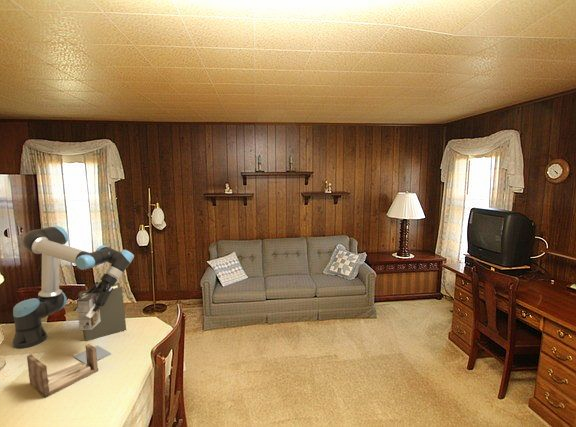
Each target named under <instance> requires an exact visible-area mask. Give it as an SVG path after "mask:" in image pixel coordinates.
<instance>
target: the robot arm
mask: <svg viewBox="0 0 576 427" xmlns="http://www.w3.org/2000/svg"><path fill="white" fill-rule="evenodd" d="M21 241H22V246H23V247H24V248H25V250H26V251H28V252H29V253H33V254H36V255H40V254H41V290H40V291H39V292H38V294H37V298H35V297H33V298H28V299H24V300H22V301H19V302H18V303H16V304H15V305H14V306H13V309H12V311H13V313H12V316H13V320H14V329H15V333H14V337H13V340H12V347H13V348H14V349H26V348H30V347H34V346H36V345H39V344H41V343H42V342H44V341H46V339H47V338H48V335H47V331H46V329H45V328H44V326H43V323H42V319H44V318H46V317H49V316H50V315H53V314H55V313H57V312H59V311H61V310H62V309H64V308H65V306H66V305H67V302H68V299H67V298H68V297H67V296H66V294H65V293H64V292H63V290H62V289H60V266H61V264H60V263H61V260H62V261H64V262H65V261H66V262H69V263H72V264H75V266H76V268H78V269H79V270H82V271H85V270H90V269H91V268H94V267H97V266H99V265H102V264H106V263H108V264H110V266H109V267H108V269H106V271H105V273H103V275H102V276H101V277H100V280H101V281H100V282H99V281H96V282H95V283H94V285H92V286H91V288H90V289H88V290H89V291H88V292H87V293H100V294H99V297H98V300H97V302H96V303H95V304H94V305H93V307H92V308H91V309H90V311H89V312H88V313H87V315H86V316H87V317H89V318H91V317H92V316H93V315H94V313H95V312H96V311H97V309H98V308H99V307H100V306H104V304H105V302H106V301H107V299H108V297H109V295H110V293H111V291H112V290H113V288H112V287H111V285H112V286H114V284H116V283H117V282H118V280H119V278H120V277H121V276H122V275H123V273H124V272H125V270H127V268H128V267H129V265H130V264H131V263H132V261H133V260H134V257H135V255H134V254H133V253H132V252H130V251H129V250H128V249H122V250H121V251H118V250H116V249H114V248H112V247H110V246H107V245H104V244H103V245H99V247H97V248H96V250H95V251H93V252H92V251H91V252H89V251H85V250H81V249H78V248H75V247H71V246H69V245H65V244H67V243H68V241H69V235H68V233H67V231H66V229H64V228H63V227H62V226H59V225H56V226H48V227H44V228H39V229H38V228H37V229H33V230H30V231H28V232H27V233H25V234H24V236H23V238H22V240H21ZM75 312H77V313H78V308H77V307H76V309H75Z"/></svg>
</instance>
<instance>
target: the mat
mask: <svg viewBox="0 0 576 427" xmlns="http://www.w3.org/2000/svg"><path fill="white" fill-rule="evenodd" d="M94 347H95V348H96V352H97V362H98V361H100V360H103V359H104V358H106V357H108V356H110V355H112V352H110V351H108V350H107V349H105V348H103V347H101V346H99V345H95V346H94ZM73 358H75V359H76V360H78V362H82V363H84V364H86V365H87V358H86V350H84V351H82V352H80V353H77V354H74V355H73Z"/></svg>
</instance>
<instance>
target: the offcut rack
mask: <svg viewBox="0 0 576 427" xmlns="http://www.w3.org/2000/svg"><path fill="white" fill-rule="evenodd" d="M84 348H85V351H86V358H87V365H86V364H84V363H82V362H80V361H76V362H74V363H72V364H69V365H67V366H64V367H62V368H60V369H57V370H54V371H52V372H50V373H48V370H47V369H48V367H47V365H46V364H45V363H43V362H42V361H40V360H39V359H38V358H36V356H34V355H33V354H29V355H27V356H26V359H27V368H28V377H29V384H30V386H31V387H32V388H33V389H35V390H36V391H37V392H38V393H39V394H40V395H41V396H43V398H44V399H46V398H48V397H50V396H52V395H54V394H56V393H58V392H60V391H62V390H64V389H66V388H68V387H70V386H72V385H74V384H76V383H77V382H80V381H81V380H83V379H86V378H88V377H90V376H91V375H93V374H96V373H98V372H99V367H98V366H99V365H98V361H97V352H96V348H95V346H93V345H91V344H90V343H87V344H86V345H85V346H84Z"/></svg>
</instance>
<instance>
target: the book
mask: <svg viewBox="0 0 576 427" xmlns="http://www.w3.org/2000/svg"><path fill="white" fill-rule="evenodd" d="M111 287H112V288H113V290H112V291H111V293H110V295H109V297H108V299H107V301H106V302H105V304H104V306H100V307H99V308H100V318H101V321H100V322H99V323H98V324H97V325H96V326H95V327H94V328H93V329H92V330H82V332H83V333H82V334H83V339H84V341H86V342H88V341H92V340H95V339H98V338H101V337H105V336H108V335H112V334H116V333H120V331H121V332H124V331H123V330H126V331H127V323H126V314H125V313H126V312H125V304H124V295H123V286H121V283H120V282H118V283H117V282H116V283H115V284H114V286H112V285H111ZM89 290H90V289H88V290H83V291H79V293H78V299H79V298H80V297H82V296H83V295H85V294H86V293H87V292H88V291H89ZM99 294H100V293H98V297H99Z"/></svg>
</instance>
